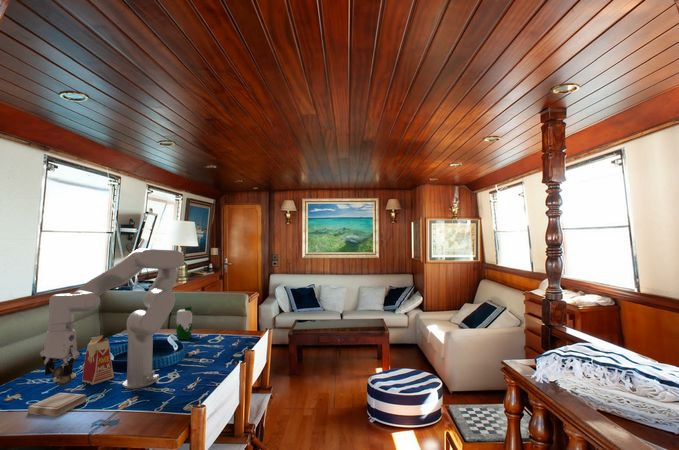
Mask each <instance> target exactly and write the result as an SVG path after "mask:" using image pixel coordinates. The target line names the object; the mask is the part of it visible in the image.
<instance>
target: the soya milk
mask: <svg viewBox="0 0 679 450" xmlns="http://www.w3.org/2000/svg"><path fill="white" fill-rule="evenodd" d="M192 331H193V308H192V306H190V305H188V306H185V307H184V309H179V310H177V311H176V339H186V340H190V339H191V338H192V333H193V332H192ZM189 338H190V339H189Z"/></svg>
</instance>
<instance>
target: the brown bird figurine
mask: <svg viewBox="0 0 679 450" xmlns="http://www.w3.org/2000/svg"><path fill="white" fill-rule="evenodd" d="M50 370H51V371H52V374H50V377H51V379H54V378H55V377H56V378H55V379H54V381H53V380H52V381H53V382H52V384H55V383H57V385H56V386H57V387H64V386H67V385H68V384H70V383H71V382H72V380H73V379H72V378H71V375H68V376H66V377H64V376H63V370H64V368H63V366H62V365H57V366H55V367H54V370H52V369H51V368H50ZM58 379H60V381H59V382H56V381H57V380H58Z"/></svg>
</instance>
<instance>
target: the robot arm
mask: <svg viewBox="0 0 679 450" xmlns="http://www.w3.org/2000/svg"><path fill="white" fill-rule="evenodd" d="M184 263H185V256H184V254H183V253H182V252H181V251H179V250H171V249H154V248H137V249H135V250H134V251H132V252H131V253H129V254H128V255H126V256H125V257H124V258H122V259H121V260H120V261H118V263H116V264H115V265H113V266H112V267H110V268H109V269H108V270H106V271H104V272H102V273H101V274H98V275H97V276H96V277H94V278H92V279H90V280H89V281H87V282H86V283H84V284H83V285H82V286H80V287H79V288H78V289H77V290H75V291H74V292H73V293H56V294H52V295H51V296H50V297H49V306H48V326H47V327H48V328H47V331H46V332H47V333H46V335H45V340H44V345H43V346H44V347H43V349H42V350H41V351H40V352H39V355H40V357H41V359H42V361H43V365H44V376H49V375H52V371H51V370H50V368H51V369H52V370H54V369H55V368H56V366H55V365H56V364H55V359H59V360H60V359H61V360H62V361H63V360H64V363H65V366H64V370H63V376H64V377H66V376H68V375H71V374H72V372H74V371H73V370H74V369H73V368H74V367H73V366H74V364H75V362H76V361H77V359H78V358H79V356H80V352H79V351H78V346H77V345H78V343H77V333H76V330H75V329H74V327H75V324H74V318H75V317H74V316H75V313H76V312H78V313H79V312H83V313H85V312H92V311H95V310H96V309H97V308H98V307H99V306H100V303H101V298H100V296H101V295H103V293H105V292H107V291H109V290H111V289H114V288H117V287H120V286H123V285H125V284H126V283H128V282H129V281H130V280H131V279H132V278H134V277H135V276H136V275H137V274H139V273H140V272H141V271H142V270H144V269H152V270H153V269H154V270H157V275H156V277H155V279H154V280H153V283H152V284H151V286H150V287H149V289H148V290H147V292H146V293H145V296H144V297H143V305H144V306H145V307H146V308H147V309H146V310H145V309H138V310H137V309H136V310H135V311H133V312H132V313H130V314H129V316H128V318H127V320H126V331H127V343H128V344H127V363H126V364H127V368H126V379H125V380H124V381H123V382H122V387H123V388H124V389H131V390H132V389H139V388H144V387H149V386H151V385H153V384H154V383H155V382H157V381H158V380H159V378H160V375H159V374H155V371H154V370H153V349H154V348H153V346H154V345H153V344H154V340H153V335H155V334H157V333H158V332H159V331H160V329H161V328H162V327H163V326H164V323H165V322H166V320H167V318H168V317H169V315H170V314H171V312H172V310H173V308H174V307H175V302H176V297H175V294H174V293H173V291H172V290H173V288H174V286H175V284H176V282H177V278H178V270H177V269H179V268H181V267H182V266H183V264H184Z"/></svg>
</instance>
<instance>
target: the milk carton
mask: <svg viewBox="0 0 679 450" xmlns="http://www.w3.org/2000/svg"><path fill="white" fill-rule="evenodd" d="M103 337H104V335H103V334H102V335H99V336H93V337H90V338H91V340H90V341H89V343H87V347H86V353H85V357H84V364H83V370H82V383H86V382H87V383H88V384H89V383H90V385H92V386H93V385H95V384H99V383H102V382H104V381H108V380H111V379H114V378H115V376H114V369H113V364H112V363H113V362H112V358H111V347H110V342H109V339H107V338H103Z"/></svg>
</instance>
